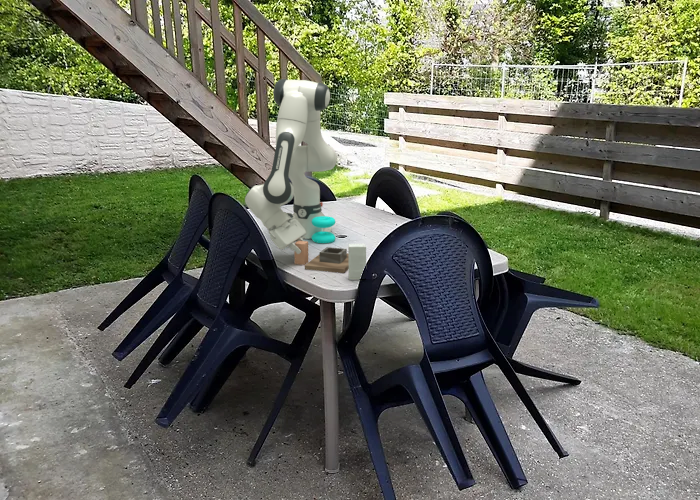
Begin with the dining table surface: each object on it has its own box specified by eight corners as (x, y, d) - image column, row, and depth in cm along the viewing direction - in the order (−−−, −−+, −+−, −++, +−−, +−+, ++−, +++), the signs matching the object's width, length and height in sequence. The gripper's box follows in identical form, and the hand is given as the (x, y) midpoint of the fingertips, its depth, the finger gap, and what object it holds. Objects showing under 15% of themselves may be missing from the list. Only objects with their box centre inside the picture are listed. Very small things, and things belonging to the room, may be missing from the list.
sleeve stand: (323, 254, 250) (323, 242, 248) (360, 258, 246) (360, 245, 244) (304, 269, 231) (304, 256, 230) (344, 273, 227) (344, 259, 226)
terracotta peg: (298, 261, 241) (298, 240, 239) (308, 262, 240) (308, 241, 238) (294, 264, 238) (294, 243, 236) (304, 264, 237) (304, 244, 234)
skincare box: (365, 276, 224) (365, 243, 221) (366, 280, 220) (366, 246, 217) (348, 276, 224) (348, 243, 220) (348, 280, 220) (348, 246, 216)
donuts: (314, 215, 273) (337, 216, 271) (315, 237, 276) (337, 238, 274) (308, 220, 264) (332, 221, 262) (309, 243, 266) (332, 244, 265)
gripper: (272, 224, 227) (298, 252, 227) (293, 212, 246) (317, 239, 246) (261, 235, 229) (286, 263, 229) (283, 222, 248) (307, 249, 248)
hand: (303, 250), depth 238 cm, fingers closed on terracotta peg, 4 cm apart
